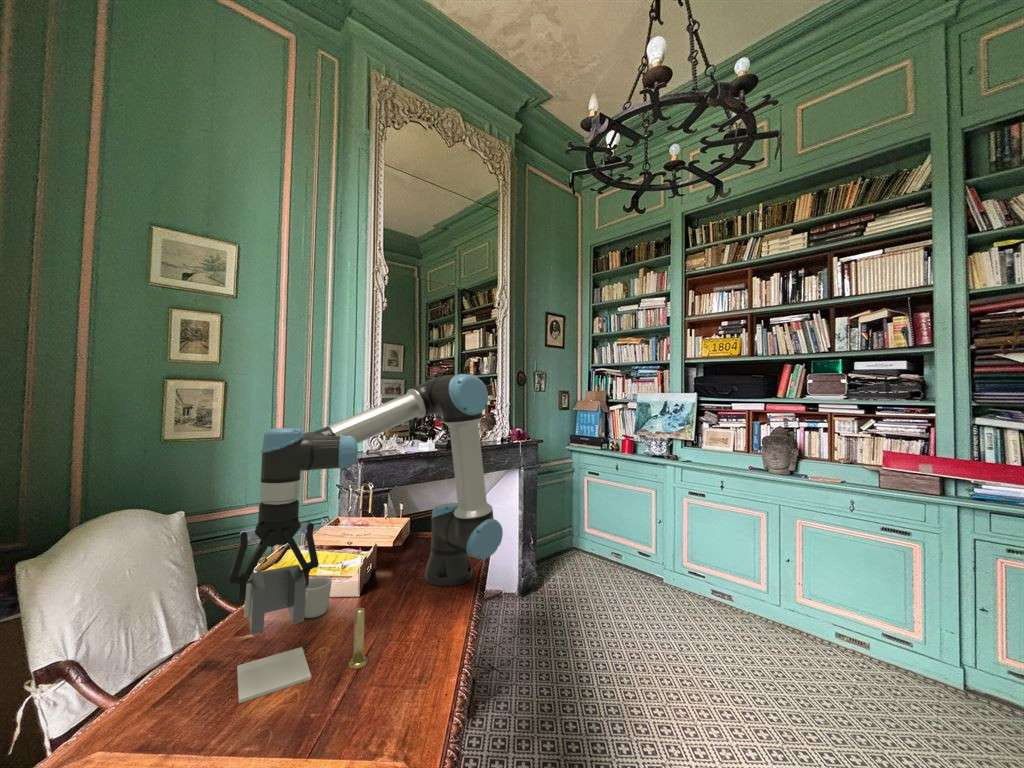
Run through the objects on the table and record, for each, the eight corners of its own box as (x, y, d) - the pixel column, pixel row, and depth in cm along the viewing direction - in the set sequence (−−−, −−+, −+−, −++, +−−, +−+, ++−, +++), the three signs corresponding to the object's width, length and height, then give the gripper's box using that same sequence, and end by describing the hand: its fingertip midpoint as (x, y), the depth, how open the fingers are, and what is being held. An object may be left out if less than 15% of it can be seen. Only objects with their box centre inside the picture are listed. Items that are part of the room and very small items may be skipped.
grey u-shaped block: (296, 601, 90) (298, 564, 90) (304, 621, 82) (306, 580, 82) (248, 612, 85) (250, 573, 85) (250, 635, 77) (253, 591, 77)
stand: (364, 656, 89) (366, 604, 90) (369, 665, 86) (370, 611, 87) (346, 662, 87) (349, 608, 87) (351, 671, 84) (353, 616, 85)
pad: (301, 649, 91) (302, 646, 91) (311, 679, 81) (311, 676, 81) (237, 668, 84) (237, 665, 84) (238, 703, 74) (238, 700, 74)
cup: (309, 629, 99) (310, 595, 100) (281, 625, 101) (282, 591, 102) (336, 608, 110) (338, 577, 111) (310, 604, 112) (312, 574, 112)
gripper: (330, 492, 97) (325, 589, 96) (217, 502, 85) (210, 614, 83) (337, 498, 91) (332, 602, 90) (217, 510, 79) (209, 631, 77)
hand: (273, 608), depth 87 cm, fingers closed on grey u-shaped block, 9 cm apart
